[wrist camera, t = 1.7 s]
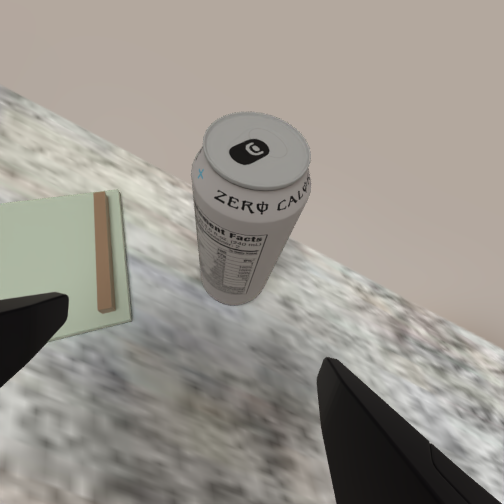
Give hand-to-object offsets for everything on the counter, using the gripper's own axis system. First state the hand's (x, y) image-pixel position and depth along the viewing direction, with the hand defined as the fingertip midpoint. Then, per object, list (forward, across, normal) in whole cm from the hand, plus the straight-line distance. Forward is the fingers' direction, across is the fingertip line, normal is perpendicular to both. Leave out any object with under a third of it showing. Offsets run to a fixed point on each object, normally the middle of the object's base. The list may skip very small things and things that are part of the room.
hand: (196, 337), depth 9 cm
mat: (+13, +16, +6) cm, 22 cm away
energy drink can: (+15, 0, +3) cm, 16 cm away
